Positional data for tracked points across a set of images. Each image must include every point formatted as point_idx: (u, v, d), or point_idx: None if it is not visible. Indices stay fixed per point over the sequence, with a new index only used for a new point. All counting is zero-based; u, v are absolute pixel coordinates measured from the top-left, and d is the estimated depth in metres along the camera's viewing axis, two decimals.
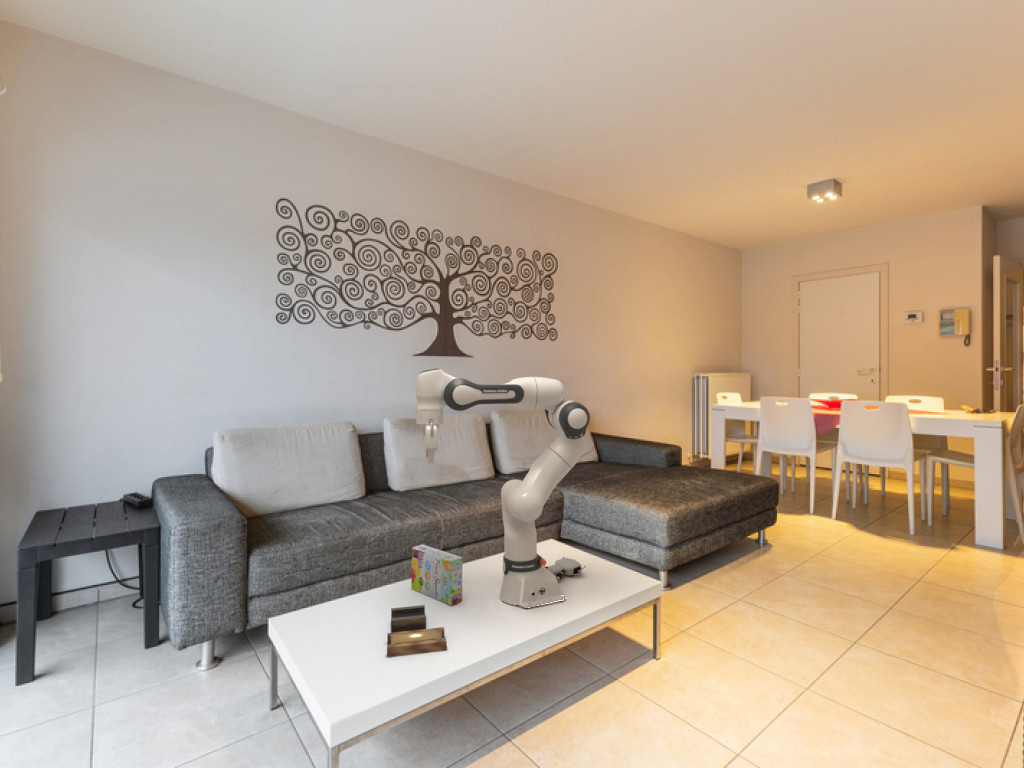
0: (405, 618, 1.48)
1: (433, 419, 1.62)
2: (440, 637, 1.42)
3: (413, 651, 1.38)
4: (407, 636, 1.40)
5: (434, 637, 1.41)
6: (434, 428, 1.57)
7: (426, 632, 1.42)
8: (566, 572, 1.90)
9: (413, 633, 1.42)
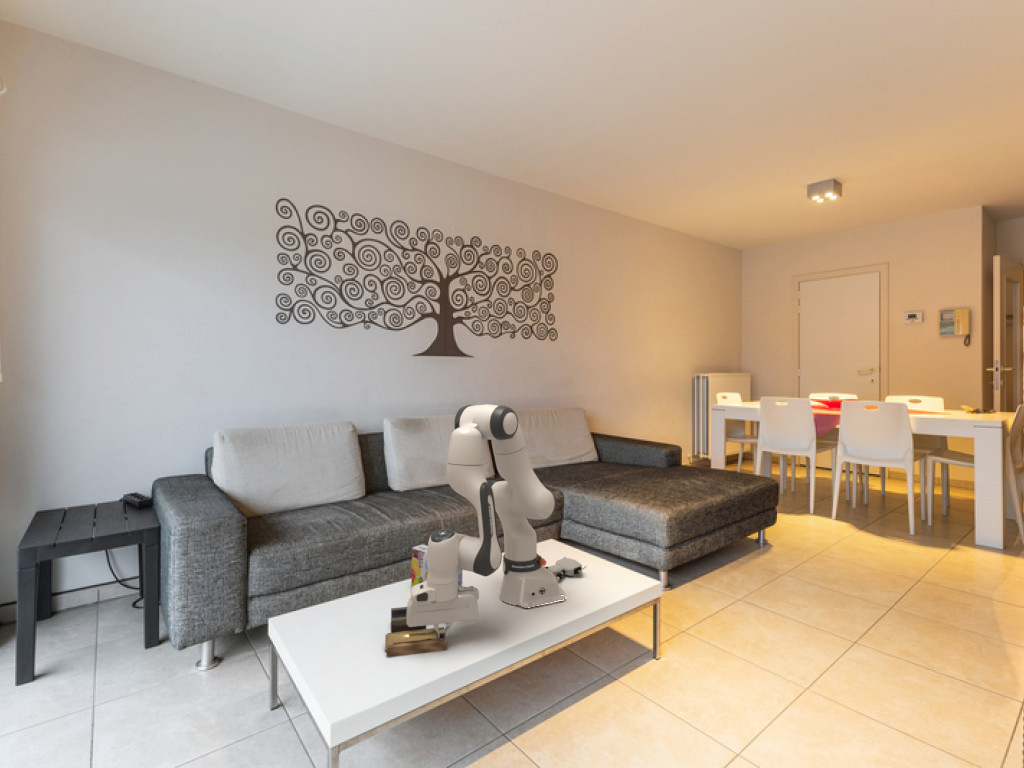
0: (405, 618, 1.48)
1: None
2: (435, 636, 1.42)
3: (413, 651, 1.38)
4: (401, 636, 1.40)
5: (429, 637, 1.41)
6: None
7: (421, 632, 1.42)
8: (566, 572, 1.90)
9: (408, 633, 1.42)
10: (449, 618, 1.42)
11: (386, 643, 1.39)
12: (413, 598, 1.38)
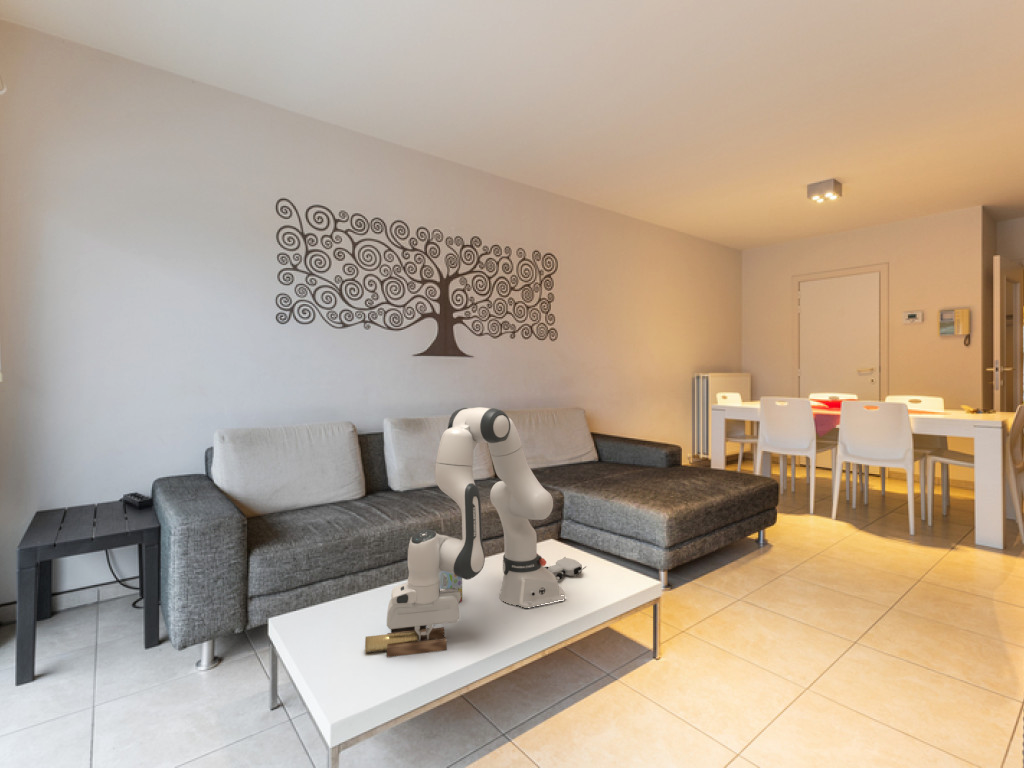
0: None
1: None
2: (415, 638, 1.40)
3: (413, 651, 1.38)
4: (382, 638, 1.39)
5: (409, 639, 1.40)
6: None
7: (401, 634, 1.41)
8: (566, 572, 1.90)
9: (388, 635, 1.40)
10: (430, 620, 1.41)
11: (366, 645, 1.37)
12: (393, 600, 1.37)
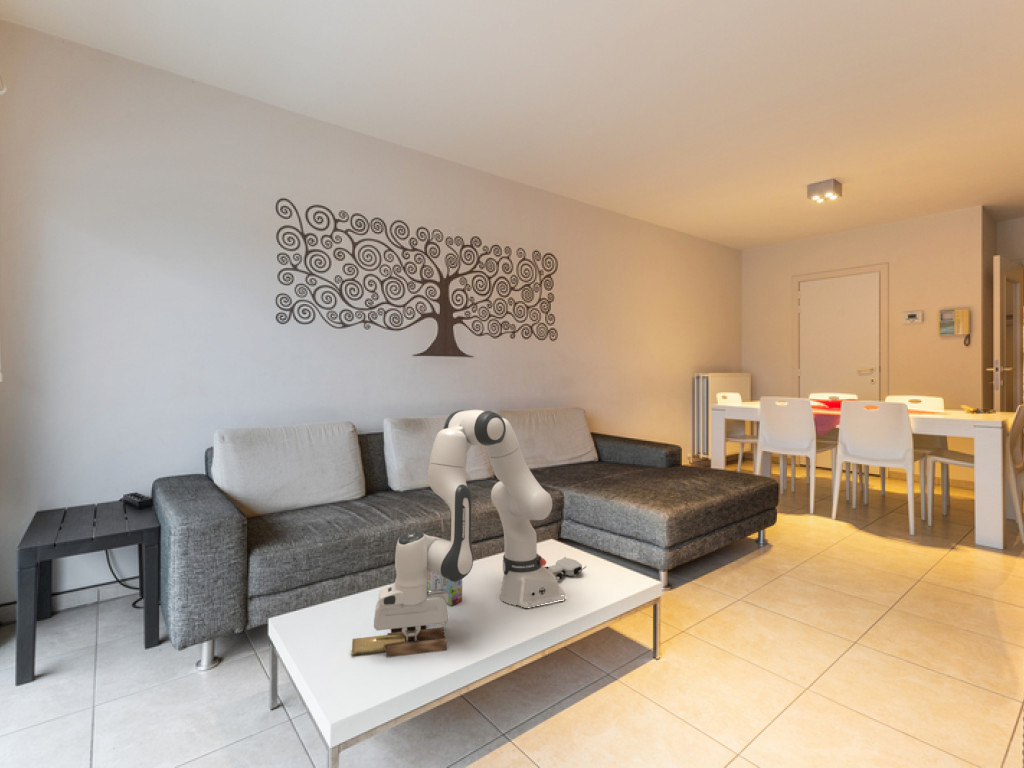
0: None
1: None
2: (403, 640, 1.40)
3: (413, 651, 1.38)
4: (369, 640, 1.38)
5: (397, 641, 1.39)
6: None
7: (389, 636, 1.40)
8: (566, 572, 1.90)
9: (375, 637, 1.40)
10: (417, 621, 1.40)
11: (353, 647, 1.37)
12: (380, 601, 1.37)
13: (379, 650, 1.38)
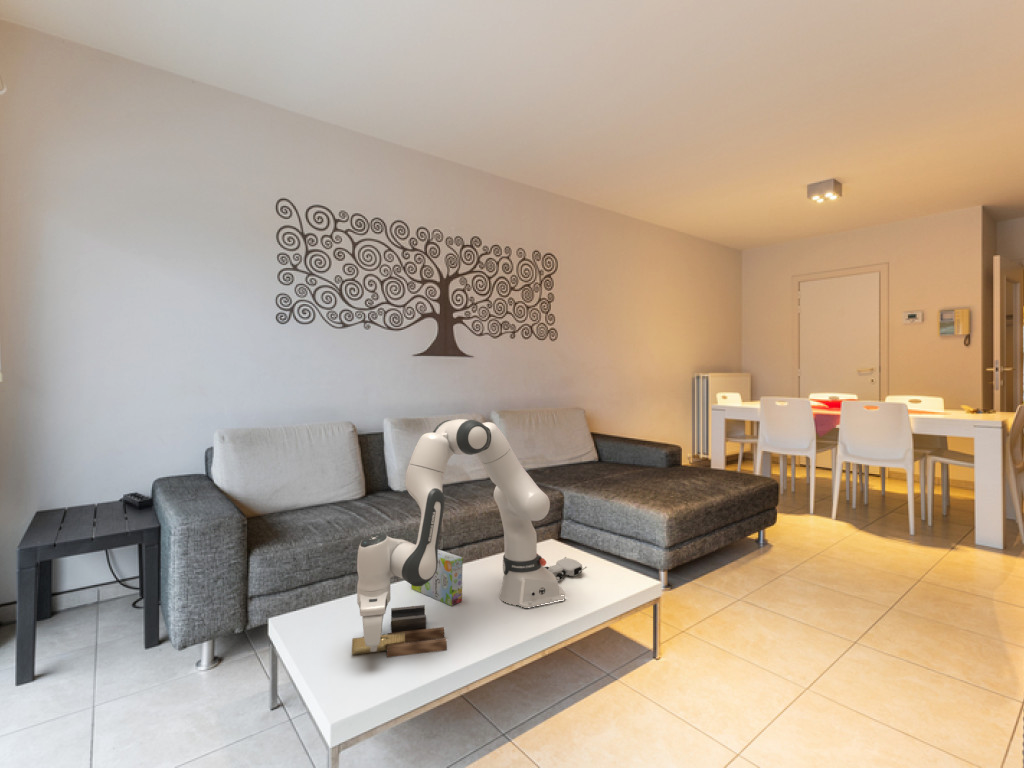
0: (405, 618, 1.48)
1: None
2: (403, 641, 1.40)
3: (413, 651, 1.38)
4: None
5: (397, 641, 1.39)
6: None
7: (389, 636, 1.40)
8: (566, 572, 1.90)
9: None
10: None
11: (353, 648, 1.36)
12: (385, 609, 1.32)
13: (379, 650, 1.38)
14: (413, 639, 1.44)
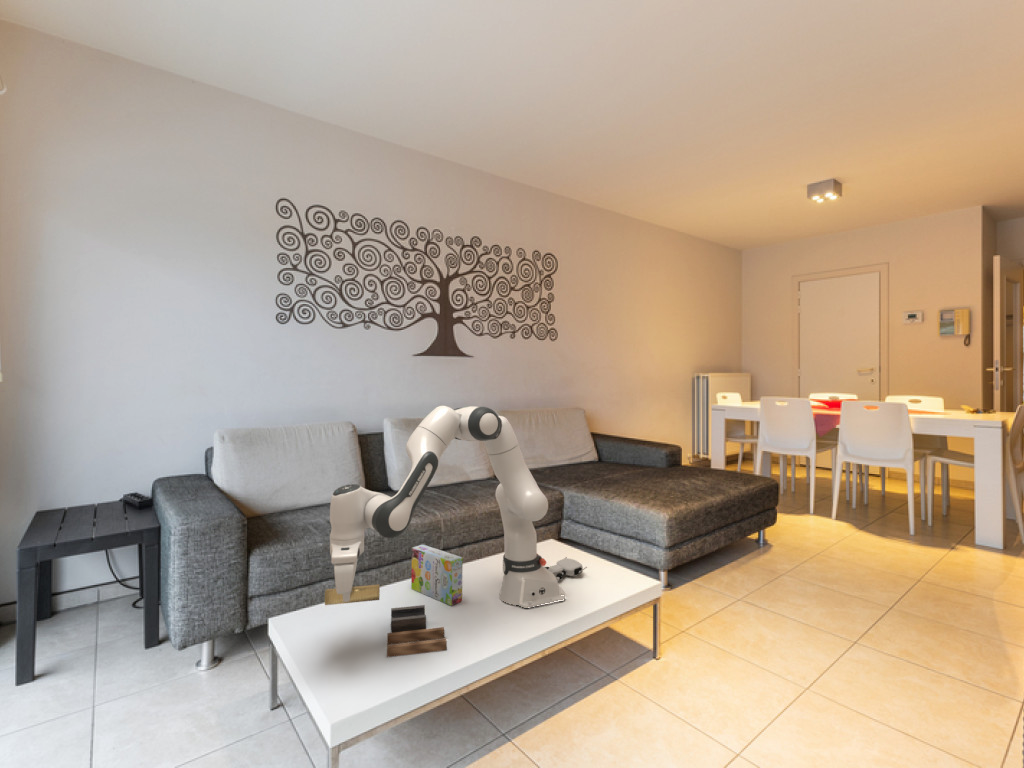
0: (405, 618, 1.48)
1: None
2: (377, 592, 1.38)
3: (413, 651, 1.38)
4: None
5: (370, 592, 1.37)
6: None
7: (363, 587, 1.38)
8: (566, 573, 1.90)
9: None
10: None
11: (325, 598, 1.35)
12: (357, 557, 1.30)
13: (352, 601, 1.36)
14: (413, 639, 1.44)
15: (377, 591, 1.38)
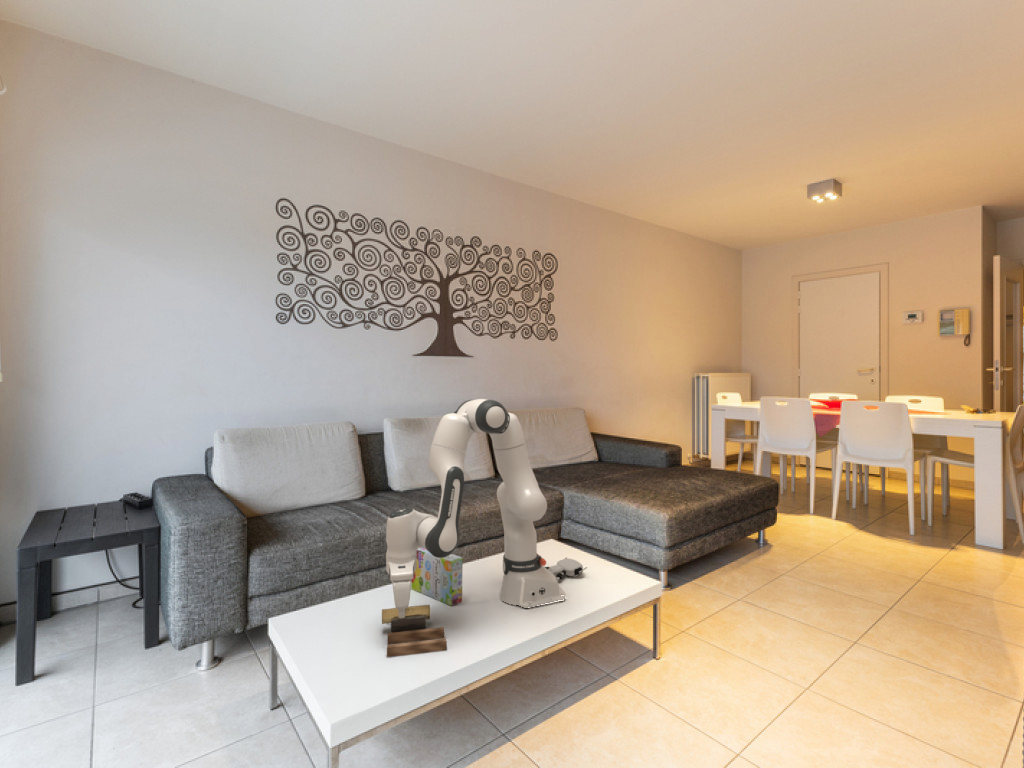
0: (405, 618, 1.48)
1: None
2: (428, 612, 1.51)
3: (413, 651, 1.38)
4: (397, 611, 1.49)
5: (422, 612, 1.51)
6: None
7: (415, 607, 1.51)
8: (567, 573, 1.90)
9: None
10: None
11: (382, 618, 1.48)
12: (413, 575, 1.43)
13: None
14: (413, 639, 1.44)
15: (428, 611, 1.51)
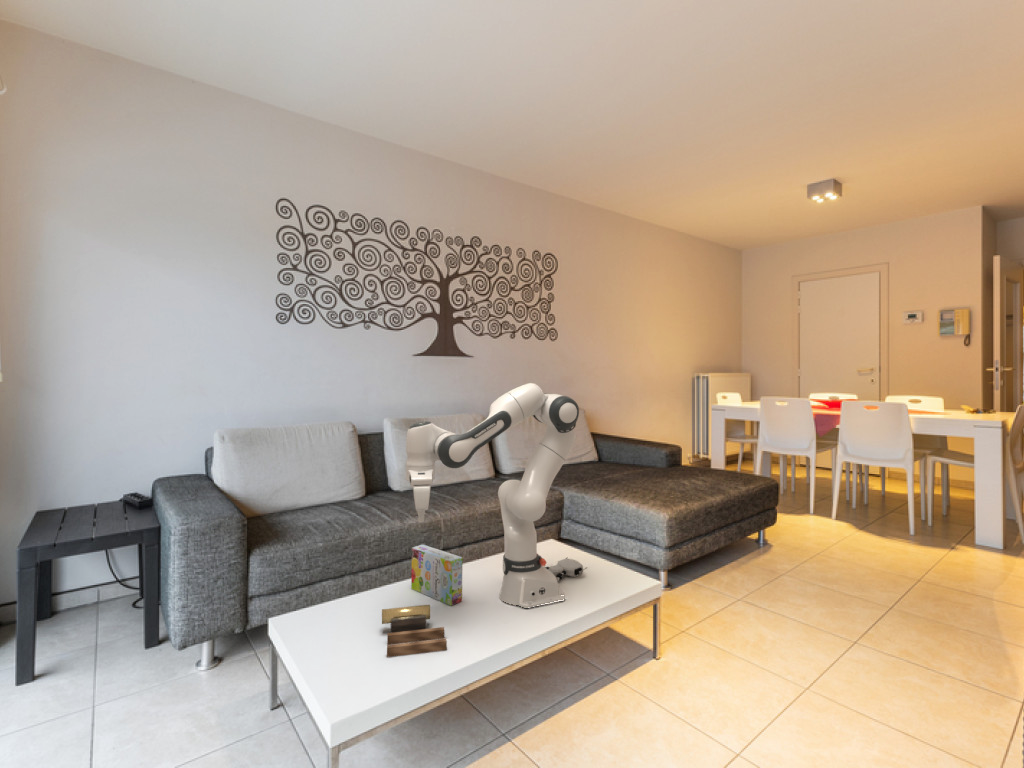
0: (405, 618, 1.48)
1: None
2: (428, 612, 1.51)
3: (413, 651, 1.38)
4: (397, 611, 1.49)
5: (422, 613, 1.50)
6: None
7: (415, 607, 1.51)
8: (567, 573, 1.90)
9: (403, 608, 1.51)
10: None
11: (382, 618, 1.48)
12: (432, 480, 1.52)
13: None
14: (413, 639, 1.44)
15: (428, 611, 1.51)
